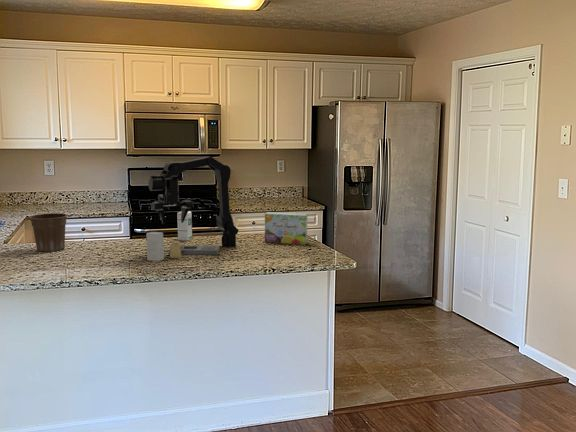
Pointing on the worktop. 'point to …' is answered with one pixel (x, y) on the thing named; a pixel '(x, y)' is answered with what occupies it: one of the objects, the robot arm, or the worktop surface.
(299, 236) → the snack box
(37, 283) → the worktop surface
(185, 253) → the grey slotted board
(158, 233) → the skincare box
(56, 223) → the plant pot
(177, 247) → the stepped wooden chunk
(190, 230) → the syrup box
